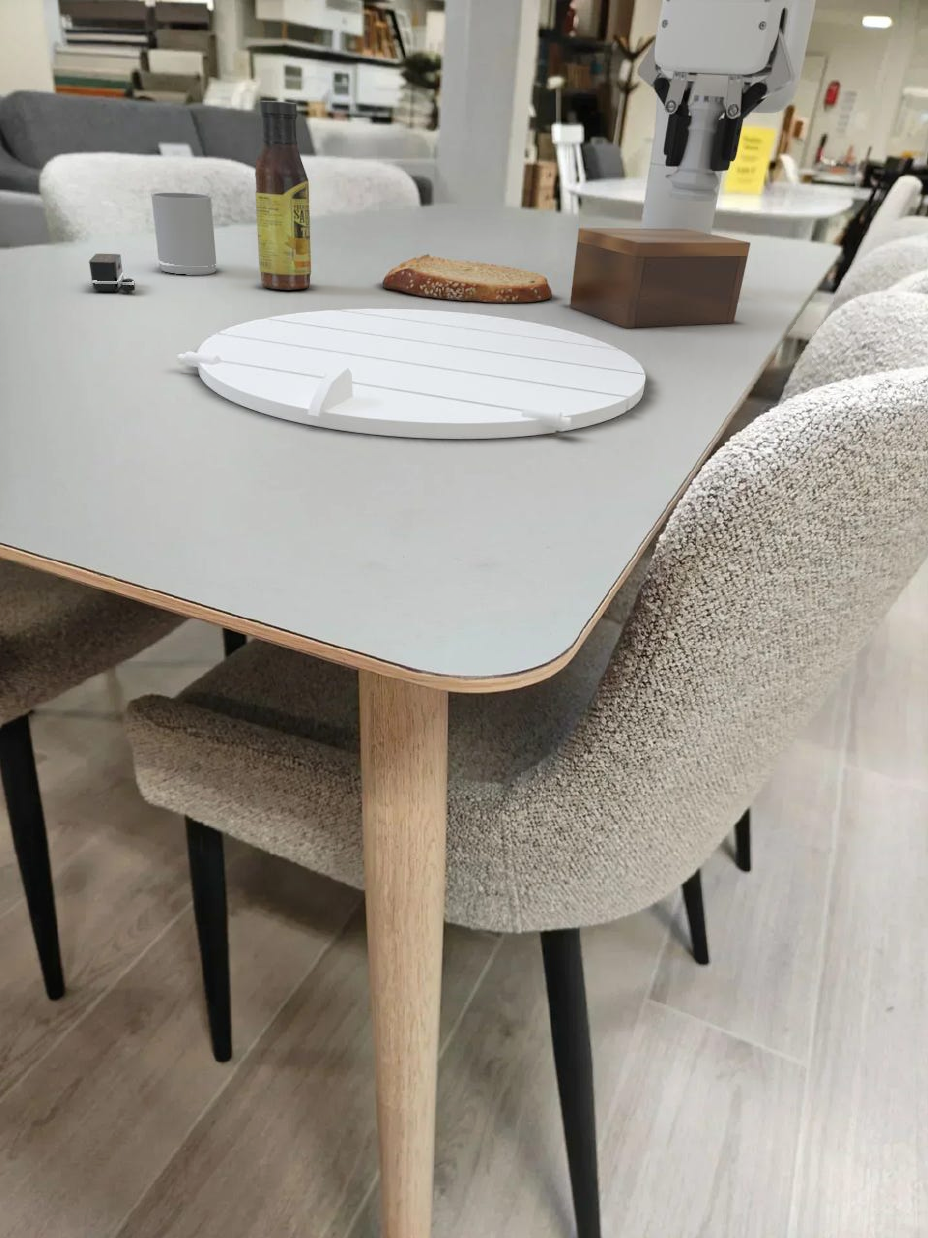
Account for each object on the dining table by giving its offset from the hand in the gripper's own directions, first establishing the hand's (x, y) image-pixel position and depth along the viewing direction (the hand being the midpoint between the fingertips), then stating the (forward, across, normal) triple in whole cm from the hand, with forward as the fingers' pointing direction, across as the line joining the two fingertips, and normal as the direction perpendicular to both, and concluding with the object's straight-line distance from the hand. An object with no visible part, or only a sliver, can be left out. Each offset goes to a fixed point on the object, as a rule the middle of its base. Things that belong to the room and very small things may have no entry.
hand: (697, 165), depth 77 cm
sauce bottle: (+18, +50, +2) cm, 53 cm away
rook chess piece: (+3, 0, 0) cm, 3 cm away
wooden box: (+18, +10, -20) cm, 29 cm away
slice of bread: (+18, +33, -14) cm, 40 cm away
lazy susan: (+17, +14, +21) cm, 31 cm away
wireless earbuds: (+17, +60, +19) cm, 66 cm away
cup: (+18, +66, +3) cm, 69 cm away
